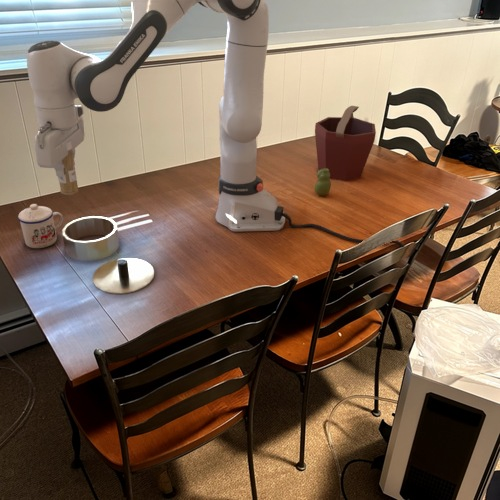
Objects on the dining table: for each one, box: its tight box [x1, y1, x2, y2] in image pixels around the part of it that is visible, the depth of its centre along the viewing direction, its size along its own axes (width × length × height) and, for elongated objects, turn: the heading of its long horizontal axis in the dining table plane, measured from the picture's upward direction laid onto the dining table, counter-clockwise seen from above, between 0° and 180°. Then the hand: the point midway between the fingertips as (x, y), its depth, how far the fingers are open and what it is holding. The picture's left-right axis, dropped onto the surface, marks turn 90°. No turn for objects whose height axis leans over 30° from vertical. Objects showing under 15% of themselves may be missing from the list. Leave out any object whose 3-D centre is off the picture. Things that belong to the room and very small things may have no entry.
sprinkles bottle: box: [57, 141, 79, 196], centre depth 121 cm, size 5×5×14 cm
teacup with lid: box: [17, 203, 64, 249], centre depth 139 cm, size 12×9×12 cm
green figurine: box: [314, 168, 332, 197], centre depth 171 cm, size 6×5×10 cm
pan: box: [61, 215, 121, 262], centre depth 137 cm, size 15×15×6 cm
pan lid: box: [92, 257, 155, 295], centre depth 126 cm, size 16×16×5 cm
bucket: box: [314, 105, 377, 182], centre depth 185 cm, size 24×22×25 cm
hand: (66, 170), depth 122 cm, fingers closed on sprinkles bottle, 4 cm apart
